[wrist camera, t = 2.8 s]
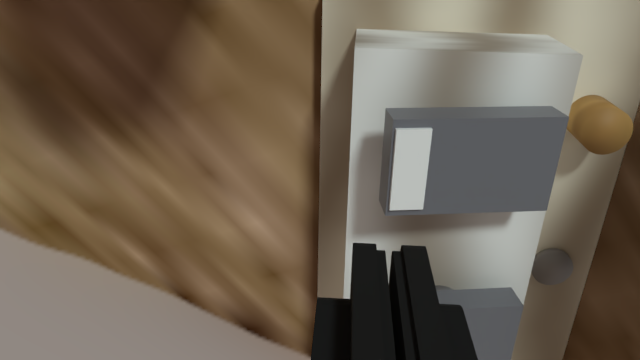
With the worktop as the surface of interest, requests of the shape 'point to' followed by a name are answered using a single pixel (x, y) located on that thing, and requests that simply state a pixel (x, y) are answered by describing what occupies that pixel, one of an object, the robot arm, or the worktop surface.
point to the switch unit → (479, 91)
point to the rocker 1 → (469, 159)
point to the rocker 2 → (488, 318)
